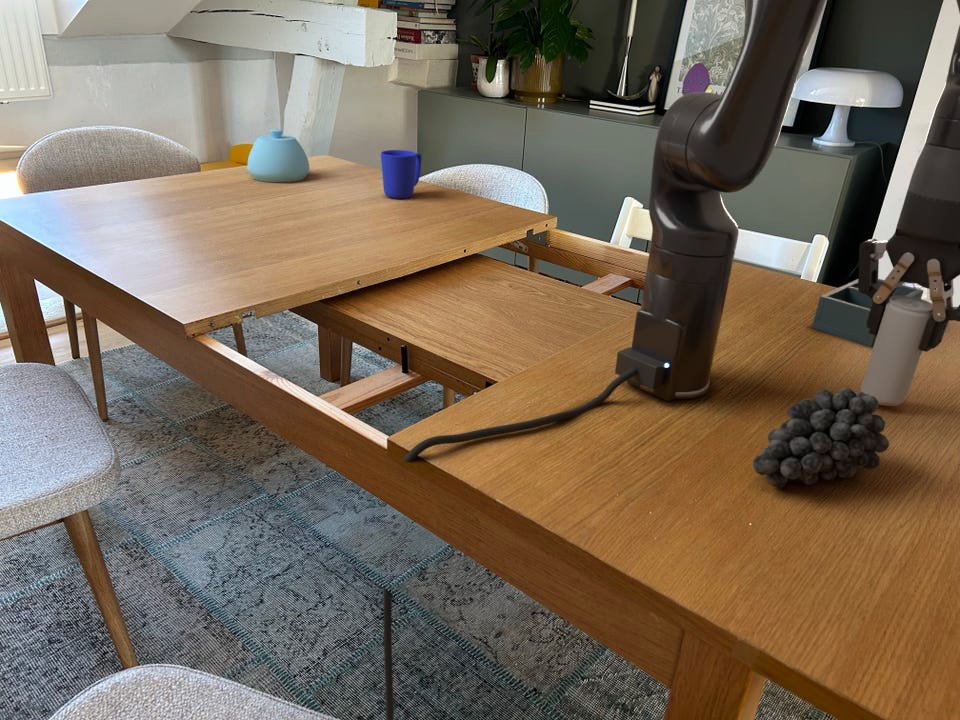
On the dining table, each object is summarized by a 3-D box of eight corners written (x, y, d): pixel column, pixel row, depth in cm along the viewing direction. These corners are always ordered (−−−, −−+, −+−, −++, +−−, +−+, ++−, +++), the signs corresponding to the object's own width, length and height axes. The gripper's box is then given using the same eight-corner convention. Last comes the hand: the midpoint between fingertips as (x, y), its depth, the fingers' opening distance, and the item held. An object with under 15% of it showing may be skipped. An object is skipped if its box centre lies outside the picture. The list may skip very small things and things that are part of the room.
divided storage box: (913, 321, 113) (923, 290, 111) (871, 347, 103) (881, 313, 101) (857, 304, 119) (865, 275, 117) (811, 327, 108) (819, 296, 106)
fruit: (787, 418, 64) (904, 386, 70) (720, 403, 71) (830, 376, 77) (792, 512, 65) (906, 474, 71) (725, 488, 73) (833, 455, 78)
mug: (432, 193, 176) (433, 151, 172) (401, 202, 167) (401, 157, 163) (405, 188, 180) (405, 146, 176) (373, 196, 171) (373, 152, 167)
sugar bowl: (321, 175, 189) (319, 129, 184) (286, 186, 176) (283, 136, 172) (273, 169, 194) (269, 123, 189) (235, 178, 181) (231, 130, 176)
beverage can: (857, 400, 86) (887, 304, 80) (860, 385, 89) (888, 292, 84) (904, 411, 84) (937, 313, 78) (904, 395, 87) (936, 301, 82)
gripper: (864, 181, 79) (823, 328, 86) (1017, 210, 69) (957, 372, 76) (891, 175, 83) (851, 315, 90) (1039, 201, 74) (980, 355, 81)
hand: (900, 340), depth 83 cm, fingers closed on beverage can, 5 cm apart
